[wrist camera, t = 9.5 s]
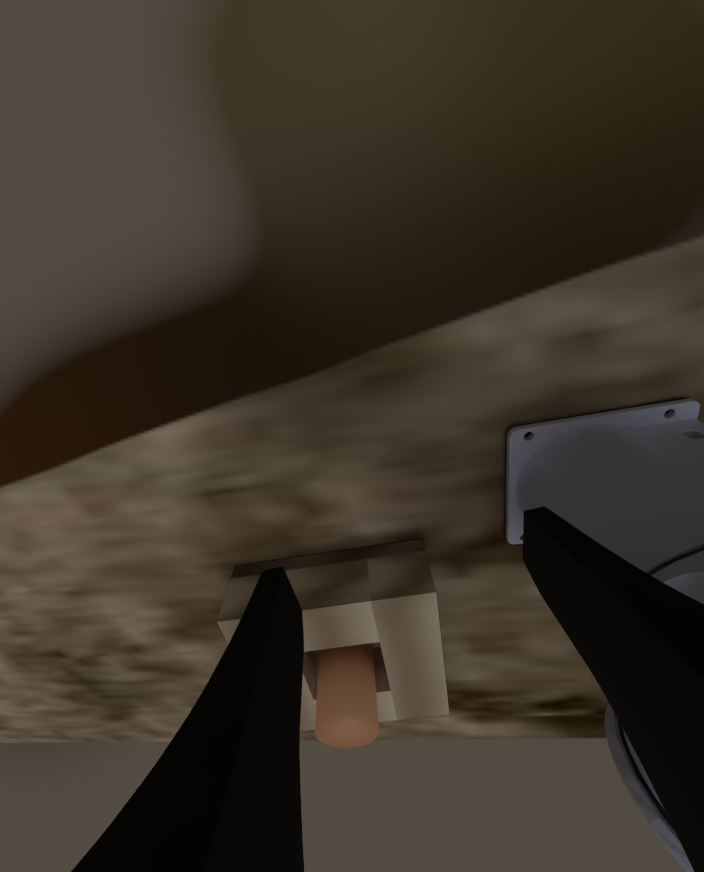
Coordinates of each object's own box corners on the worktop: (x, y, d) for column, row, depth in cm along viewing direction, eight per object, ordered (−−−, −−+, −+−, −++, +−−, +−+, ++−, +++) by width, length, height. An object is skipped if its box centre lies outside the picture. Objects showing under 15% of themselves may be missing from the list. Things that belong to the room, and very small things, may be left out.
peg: (381, 625, 26) (391, 725, 21) (353, 652, 27) (357, 753, 22) (337, 607, 25) (336, 708, 20) (310, 636, 26) (303, 738, 21)
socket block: (422, 538, 24) (436, 592, 20) (436, 656, 29) (449, 714, 26) (235, 566, 25) (216, 622, 21) (283, 675, 30) (275, 734, 27)
